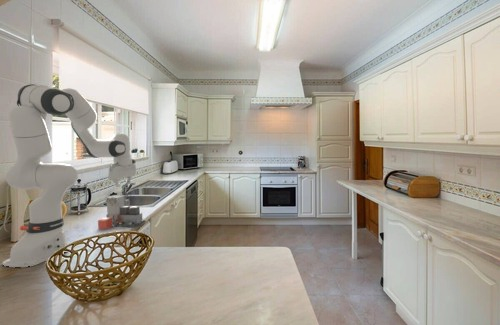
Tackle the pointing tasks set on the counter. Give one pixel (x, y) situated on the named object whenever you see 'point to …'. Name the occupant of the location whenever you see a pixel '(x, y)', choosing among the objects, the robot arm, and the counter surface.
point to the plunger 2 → (134, 210)
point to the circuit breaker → (115, 206)
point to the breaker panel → (129, 220)
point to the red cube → (104, 223)
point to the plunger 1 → (124, 210)
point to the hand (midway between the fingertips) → (123, 185)
